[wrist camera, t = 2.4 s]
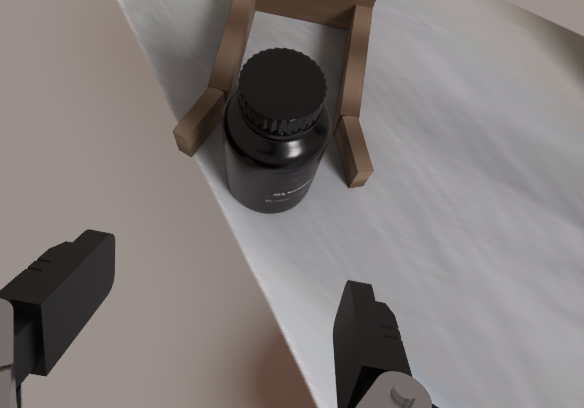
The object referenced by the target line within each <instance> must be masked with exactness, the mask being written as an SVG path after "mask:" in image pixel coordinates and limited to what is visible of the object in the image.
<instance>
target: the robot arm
mask: <svg viewBox="0 0 584 408" xmlns="http://www.w3.org/2000/svg"><path fill="white" fill-rule="evenodd" d="M114 275H115V237H114V235H113V234H110V233H105V232H100V231H95V230H90V229H89V230H86V231H85V232H84V233H82V234H81V235H80V236H79V237H78V238H77V239H76V240H75V241H74V242H67V241H66V242H64V243H62V244H59V245H57V246H54V247H52V248H50V249H48V250H47V251H46V252H45V253H44V254H43V255H41V256H40V257H39V258H38V259H37V261H34V262H33V263H32V264H31V265H30V266H29V267H28V269H25V270H24V271H22V272H21V273H20V274H19V275H18V276H17V277H15V278H14V279H13V280H12V281H11V282H10V283H8V284H7V285H6V286H5V287H4V288H3V289H1V290H0V408H22V384H21V383H22V382H23V381H24V380H25V378H26V377H27V376H28V375H29V373H30V374H36V375H41V376H47V375H48V374H49V372H50V371H51V370H52V368H53V367H54V366H55V364H56V363H57V361H58V360H59V359H60V358H61V356H62V355H63V354H64V352H65V351H66V350H67V348H68V347H69V346H70V344H71V343H72V342H73V340H74V339H75V337H77V335H78V334H79V333H80V331H81V330H82V329H83V327H84V326H85V325H86V323H87V322H88V321H89V319H90V318H91V317H92V315H93V314H94V312H95V311H96V310H97V309H98V307H99V306H100V304H102V302H103V301H104V300H105V298H106V297H107V296H108V294H109V292H110V290H111V288H112V285H113V282H114ZM333 347H334V361H335V376H336V391H337V406H338V408H438V407H437V406H435V405H434V404H432V401H431V398H430V396H429V394H428V392H427V390H426V389H425V388H424V387H423V386H422V384H420V383H419V382H418V381H417V380H415V379H414V378H413V377H412V374H411V370H410V367H409V363H408V360H407V356H406V353H405V349H404V346H403V342H402V341H401V335H400V332H399V330H398V325H397V321H396V318H395V315H394V314H393V312H392V311H391V310H390V309H389V307H388V306H387V305H386V304H385V303H382V302H377V301H375V297H374V293H373V288H372V285H371V284H366V283H361V282H356V281H351V280H348V281H347V282H346V285H345V288H344V291H343V295H342V298H341V301H340V304H339V308H338V311H337V314H336V318H335V322H334V328H333Z"/></svg>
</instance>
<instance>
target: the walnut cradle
mask: <svg viewBox="0 0 584 408" xmlns="http://www.w3.org/2000/svg"><path fill="white" fill-rule="evenodd" d="M375 1H376V0H233V2H232V6H231V9H230V13H229V16H228V20H227V23H226V26H225V30H224V33H223V37H222V40H221V44H220V47H219V50H218V54H217V57H216V61H215V64H214V68H213V71H212V74H211V78H210V81H209V85H208V89H207V90H206V91H205V93H204V94H203V95H202V96H201V97H200V99H199V100H198V101H197V102H196V103H195V105H194V106H193V107H192V108H191V109H190V111H189V112H188V113H187V114H186V115H185V117H184V118H183V119H182V120H181V121H180V123H179V124H178V125H177V126H176V127H175V129H174V130H173V133H174V136H175V139H176V142H177V145H178V148H179V150H180V151H182V152H183V153H185V154H187V155H188V156H190V157H192V156H193V155H194V154H195V152H196V151H197V150H198V149H199V147H200V146H201V145H202V144H203V142H204V141H205V140H206V138H207V137H208V136H209V135H210V133H211V132H212V131H213V130H214V128H215V127H216V126H217V124H218V123H219V122H220V121H221V119H222V113H223V109H224V106H225V103H226V101H227V99H228V97H229V96H230V94H231V93H232V92H233V91H234V90H235V86H236V82H237V79H238V75H239V71H240V67H241V63H242V60H243V56H244V52H245V48H246V44H247V40H248V37H249V33H250V29H251V25H252V21H253V18H254V14H255V10H257V11H261V12H266V13H271V14H275V15H280V16H285V17H290V18H294V19H299V20H304V21H309V22H313V23H318V24H323V25H327V26H332V27H337V28H342V29H346V30H348V35H347V42H346V49H345V55H344V62H343V69H342V76H341V82H340V89H339V96H338V102H337V109H336V116H335V123H334V129H333V133H334V134H335V138H336V142H337V146H338V149H339V153H340V157H341V161H342V164H343V168H344V172H345V176H346V179H347V183H348V187H349V188H353V187H360V186H363V185H364V184H365V182H366V181H367V179H368V178H369V176H370V175H371V174H372V172H373V167H372V164H371V160H370V157H369V153H368V150H367V147H366V143H365V140H364V136H363V133H362V129H361V126H360V123H359V115H360V107H361V99H362V91H363V82H364V74H365V66H366V58H367V50H368V42H369V34H370V26H371V18H372V10H373V6H374V3H375Z"/></svg>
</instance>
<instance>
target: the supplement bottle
mask: <svg viewBox="0 0 584 408" xmlns="http://www.w3.org/2000/svg"><path fill="white" fill-rule="evenodd" d="M326 91H327V86H326V79H325V78H324V73H323V72H322V71H321V69H320V67H319V66H318V65H316V63H315V61H313V60H311V59H310V57H309V56H306V55H304V54H303V53H302V52H297V51H295V50H294V49H287V48H282V49H281V48H274V49H267V50H266V51H260V52H259V53H258V54H254V55H253V57H252V58H249V59H248V60H247V63H246V64H244V65H243V69H242V70H241V71H240V77H239V79H238V87H237V88H235V90H234V91H233V92H232V93H231V94H230V96H229V97H228V99H227V101H226V103H225V106H224V109H223V113H222V134H223V147H224V159H225V171H226V178H227V183H228V186H229V188H230V190H231V192H232V194H233V195H234V197H235V198H236V199H237V200H238V201H239V202H240V203H241V204H242V205H244V206H245V207H247V208H249V209H251V210H253V211H256V212H260V213H266V214H274V213H280V212H284V211H287V210H289V209H291V208H293V207H294V206H296V205H297V204H298V203H299V202H301V200H302V199H303V198H304V197H305V195H306V194H307V192H308V190H309V188H310V186H311V183H312V181H313V179H314V176H315V174H316V171H317V169H318V166H319V164H320V161H321V159H322V157H323V154H324V152H325V149H326V147H327V144H328V141H329V138H330V134H331V116H330V112H329V109H328V107H327V105H326V103H325V99H326Z"/></svg>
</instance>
